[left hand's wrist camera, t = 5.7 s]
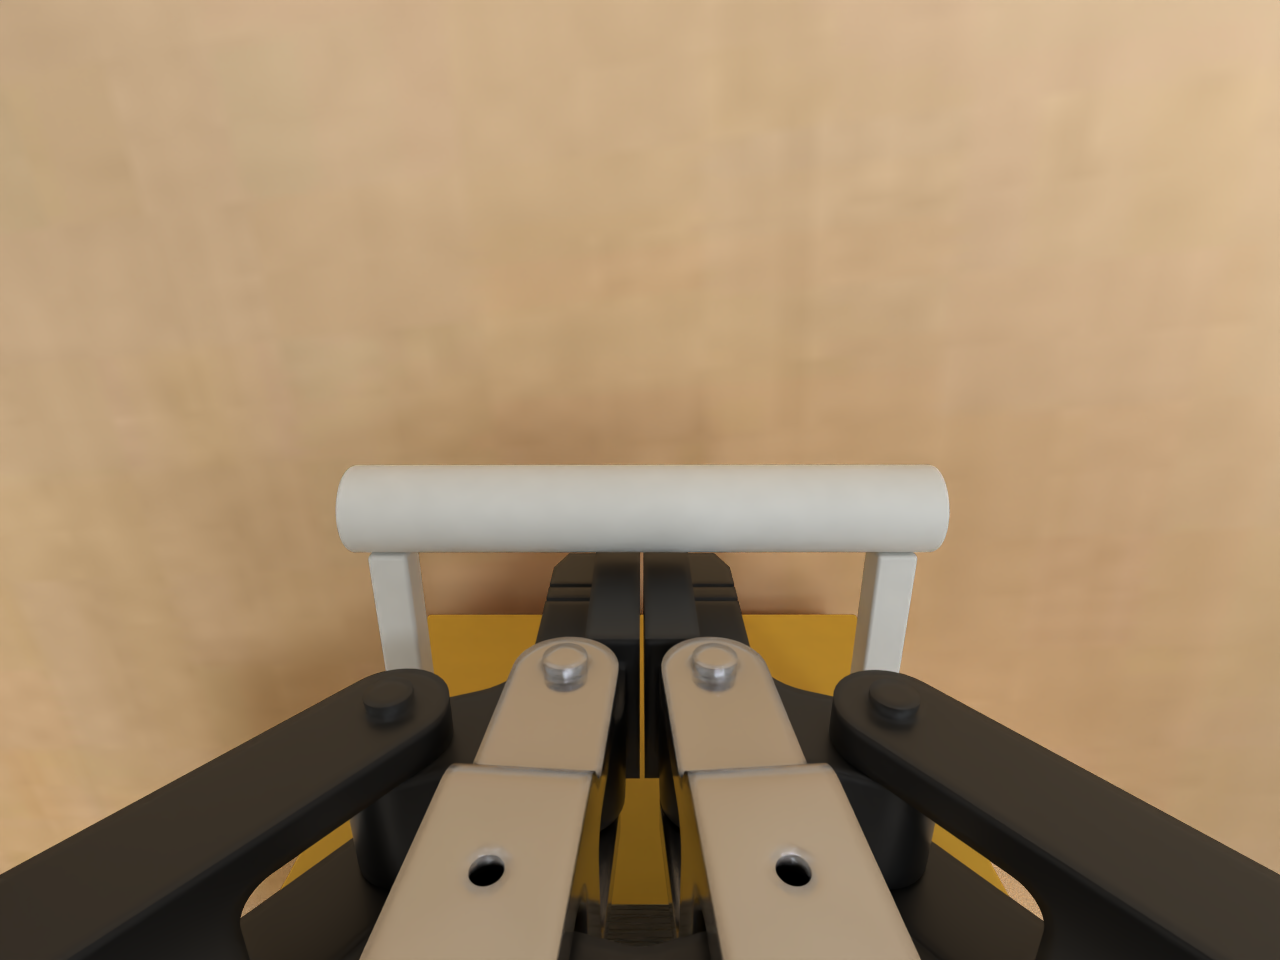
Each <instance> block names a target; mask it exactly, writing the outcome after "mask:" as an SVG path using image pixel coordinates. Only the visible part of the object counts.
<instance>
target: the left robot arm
mask: <svg viewBox="0 0 1280 960" xmlns="http://www.w3.org/2000/svg"><path fill="white" fill-rule="evenodd" d="M643 648H644V769H645V778H659V792H660V813H659V830H660V838H661V847H662V855H663V863H664V871H665V879H666V888H667V896H668V904H669V912H670V920H671V929H672V937H673V940H670V941H666V942H662V943H659V944H655V945H651V946H645V947H635V946H629V945H625V944H621V943H618V942H614V941H610V940H607V937H608V929H609V920H610V912H611V904H612V896H613V888H614V879H615V871H616V863H617V855H618V847H619V838H620V830H621V813H620V812H621V811H622V808H623V806H624V802H625V785H626V779H640V552H596V553H569V554H568V555H567V556H566V557H565V558H564V559H563V560H562V561H561V562H560V563H558V564H557V565H556V566H555V567H554V570H553V574H552V578H551V582H550V587H549V590H548V594H547V601H546V602H545V606H544V610H543V614H542V618H541V622H540V626H539V630H538V634H537V638H536V642H535V645H533V646H531V647H529V648H528V649H526V650H525V651H524V652H523V653H521V654H520V655H519V657H518V658H517V659H516V661H515V662H514V664H513V666H512V669H511V671H510V674H509V676H508V679H507V681H505V682H503V683H501V684H499V685H496V686H493V687H491V688H488V689H484V690H480V691H476V692H471V693H466V694H462V695H457V696H453V697H450V695H449V689H448V686H447V684H446V683H445V681H444V680H443V679H442V678H441V677H439V676H438V675H436V674H434V673H432V672H429V671H426V670H421V669H410V668H405V669H394V670H388V671H384V672H380V673H377V674H374V675H371V676H369V677H366V678H364V679H362V680H360V681H358V682H356V683H354V684H352V685H351V686H349V687H347V688H345V689H343V690H341V691H339V692H338V693H336V694H334V695H332V696H330V697H328V698H326V699H325V700H323V701H321V702H319V703H317V704H315V705H314V706H312V707H310V708H308V709H306V710H304V711H302V712H301V713H299V714H297V715H295V716H293V717H291V718H289V719H288V720H286V721H284V722H282V723H280V724H278V725H277V726H275V727H273V728H271V729H269V730H267V731H265V732H264V733H262V734H260V735H258V736H256V737H254V738H252V739H251V740H249V741H247V742H245V743H243V744H241V745H240V746H238V747H236V748H234V749H232V750H230V751H228V752H227V753H225V754H223V755H221V756H219V757H217V758H215V759H214V760H212V761H210V762H208V763H206V764H204V765H203V766H201V767H199V768H197V769H195V770H193V771H191V772H190V773H188V774H186V775H184V776H182V777H180V778H178V779H177V780H175V781H173V782H171V783H169V784H167V785H166V786H164V787H162V788H160V789H158V790H156V791H154V792H153V793H151V794H149V795H147V796H145V797H143V798H141V799H140V800H138V801H136V802H134V803H132V804H130V805H128V806H127V807H125V808H123V809H121V810H119V811H117V812H116V813H114V814H112V815H110V816H108V817H106V818H104V819H103V820H101V821H99V822H97V823H95V824H93V825H91V826H90V827H88V828H86V829H84V830H82V831H80V832H79V833H77V834H75V835H73V836H71V837H69V838H67V839H66V840H64V841H62V842H60V843H58V844H56V845H54V846H53V847H51V848H49V849H47V850H45V851H43V852H42V853H40V854H38V855H36V856H34V857H32V858H30V859H29V860H27V861H25V862H23V863H21V864H19V865H17V866H16V867H14V868H12V869H10V870H8V871H6V872H5V873H3V874H1V875H0V960H1280V875H1279V874H1277V873H1276V872H1274V871H1272V870H1270V869H1268V868H1266V867H1264V866H1263V865H1261V864H1259V863H1257V862H1255V861H1253V860H1251V859H1250V858H1248V857H1246V856H1244V855H1242V854H1240V853H1239V852H1237V851H1235V850H1233V849H1231V848H1229V847H1227V846H1226V845H1224V844H1222V843H1220V842H1218V841H1216V840H1214V839H1213V838H1211V837H1209V836H1207V835H1205V834H1203V833H1201V832H1200V831H1198V830H1196V829H1194V828H1192V827H1190V826H1189V825H1187V824H1185V823H1183V822H1181V821H1179V820H1177V819H1176V818H1174V817H1172V816H1170V815H1168V814H1166V813H1164V812H1163V811H1161V810H1159V809H1157V808H1155V807H1153V806H1152V805H1150V804H1148V803H1146V802H1144V801H1142V800H1140V799H1139V798H1137V797H1135V796H1133V795H1131V794H1129V793H1127V792H1126V791H1124V790H1122V789H1120V788H1118V787H1116V786H1115V785H1113V784H1111V783H1109V782H1107V781H1105V780H1103V779H1102V778H1100V777H1098V776H1096V775H1094V774H1092V773H1090V772H1089V771H1087V770H1085V769H1083V768H1081V767H1079V766H1078V765H1076V764H1074V763H1072V762H1070V761H1068V760H1066V759H1065V758H1063V757H1061V756H1059V755H1057V754H1055V753H1053V752H1052V751H1050V750H1048V749H1046V748H1044V747H1042V746H1041V745H1039V744H1037V743H1035V742H1033V741H1031V740H1029V739H1028V738H1026V737H1024V736H1022V735H1020V734H1018V733H1016V732H1015V731H1013V730H1011V729H1009V728H1007V727H1005V726H1003V725H1002V724H1000V723H998V722H996V721H994V720H992V719H991V718H989V717H987V716H985V715H983V714H981V713H979V712H978V711H976V710H974V709H972V708H970V707H968V706H966V705H965V704H963V703H961V702H959V701H957V700H955V699H954V698H952V697H950V696H948V695H946V694H944V693H942V692H941V691H939V690H937V689H935V688H933V687H931V686H929V685H928V684H926V683H924V682H922V681H920V680H918V679H916V678H913V677H910V676H907V675H904V674H901V673H897V672H892V671H886V670H864V671H858V672H855V673H852V674H849V675H847V676H845V677H844V678H843V679H841V680H840V681H839V682H838V684H837V685H836V686H835V689H834V693H833V696H829V695H824V694H820V693H815V692H811V691H806V690H802V689H798V688H795V687H792V686H789V685H787V684H784V683H782V682H780V681H778V680H776V679H775V678H773V677H772V676H771V674H770V671H769V669H768V666H767V664H766V662H765V661H764V659H763V658H762V657H761V655H760V654H759V653H757V652H756V651H755V650H754V649H752V648H751V647H750V644H749V640H748V637H747V633H746V629H745V625H744V621H743V617H742V613H741V609H740V606H739V602H738V601H737V594H736V590H735V587H734V582H733V578H732V575H731V571H730V567H729V566H728V565H726V564H725V563H724V562H723V561H722V560H721V559H720V558H719V557H718V556H717V555H715V554H714V553H688V552H643ZM348 820H350V825H351V830H352V835H353V838H352V839H350V840H349V841H347V842H346V843H345V844H343V845H342V846H341V847H339V848H338V849H336V850H335V851H334V852H332V853H331V854H329V855H328V856H327V857H325V858H324V859H322V860H321V861H320V862H318V863H317V864H315V865H314V866H313V867H311V868H310V869H309V870H307V871H306V872H304V873H303V874H302V875H300V876H299V877H297V878H296V879H295V880H293V881H292V882H290V883H289V884H288V885H286V886H285V887H283V888H282V889H281V890H279V891H278V892H277V893H275V894H274V895H272V896H271V897H270V898H268V899H267V900H265V901H264V902H263V903H261V904H260V905H258V906H257V907H256V908H254V909H253V910H252V911H250V912H249V913H247V914H246V915H245V916H243V917H241V913H242V910H243V908H244V905H245V903H246V902H247V900H248V898H249V897H250V895H251V894H252V892H253V891H254V890H255V889H256V888H257V886H258V885H259V884H260V883H261V882H262V881H263V880H265V879H266V878H267V877H268V876H269V875H271V874H272V873H274V872H275V871H276V870H278V869H279V868H281V867H282V866H284V865H285V864H286V863H288V862H289V861H291V860H292V859H294V858H295V857H297V856H298V855H299V854H301V853H302V852H304V851H305V850H307V849H308V848H309V847H311V846H312V845H314V844H315V843H317V842H318V841H320V840H321V839H322V838H324V837H325V836H327V835H328V834H330V833H331V832H332V831H334V830H335V829H337V828H338V827H340V826H341V825H343V824H344V823H345V822H347V821H348ZM935 823H936V824H937V825H939V826H940V827H942V828H943V829H945V830H946V831H948V832H949V833H950V834H952V835H953V836H955V837H956V838H958V839H959V840H960V841H962V842H963V843H965V844H966V845H968V846H969V847H971V848H972V849H973V850H975V851H976V852H978V853H979V854H981V855H982V856H984V857H985V858H986V859H988V860H989V861H991V862H992V863H994V864H995V865H996V866H998V867H999V868H1001V869H1002V870H1004V871H1005V872H1007V873H1008V874H1009V875H1011V876H1012V877H1014V878H1015V879H1016V880H1017V881H1019V882H1020V883H1021V884H1022V885H1023V886H1024V887H1025V888H1026V889H1027V890H1028V891H1029V893H1030V894H1031V895H1032V897H1033V898H1034V899H1035V901H1036V902H1037V904H1038V906H1039V908H1040V910H1041V913H1042V916H1043V919H1044V921H1043V920H1041V919H1040V918H1038V917H1037V916H1035V915H1034V914H1033V913H1031V912H1030V911H1029V910H1027V909H1026V908H1024V907H1023V906H1022V905H1020V904H1019V903H1017V902H1016V901H1015V900H1013V899H1012V898H1010V897H1009V896H1008V895H1006V894H1005V893H1003V892H1002V891H1001V890H999V889H998V888H997V887H995V886H994V885H992V884H991V883H990V882H988V881H987V880H985V879H984V878H983V877H981V876H980V875H978V874H977V873H976V872H974V871H973V870H971V869H970V868H969V867H967V866H966V865H965V864H963V863H962V862H960V861H959V860H958V859H956V858H955V857H953V856H952V855H951V854H949V853H948V852H946V851H945V850H944V849H942V848H941V847H939V846H938V845H937V844H935V843H934V842H933V841H932V837H933V832H934V827H935ZM240 917H241V918H240Z"/></svg>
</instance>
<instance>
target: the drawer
mask: <svg viewBox="0 0 1280 960" xmlns="http://www.w3.org/2000/svg"><path fill="white" fill-rule="evenodd" d="M336 523H337V529H338V533H339V536H340V539H341V541H342V543H343V545H344V546H345V547H346V548H347V549H348V550H349V551H352V552H372V553H371V554H370V556H369V558H368V561H369V567H370V574H371V580H372V586H373V593H374V599H375V605H376V612H377V618H378V624H379V631H380V637H381V643H382V650H383V656H384V662H385V669H386V671H388V670H394V669H405V668H410V669H421V670H426V671H429V672H432V673H434V674H436V675H438V676H439V677H441V678H442V679H443V680H444V681H445V683H446V684H447V686H448V689H449V695H450V697H453V696H457V695H462V694H466V693H471V692H476V691H480V690H484V689H488V688H491V687H493V686H496V685H499V684H501V683H503V682H505V681H507V679H508V676H509V674H510V671H511V669H512V666H513V664H514V662H515V661H516V659H517V658H518V657H519V655H520V654H521V653H523V652H524V651H525V650H526V649H528V648H529V647H531V646H533V645H535V642H536V638H537V634H538V630H539V626H540V622H541V618H542V615H429V616H428V617H427V615H426V607H425V600H424V592H423V584H422V576H421V568H420V561H419V553H418V552H866V555H865V563H864V571H863V579H862V586H861V594H860V602H859V610H858V617H856V616H855V615H742V617H743V621H744V625H745V629H746V633H747V637H748V640H749V644H750V647H751V648H752V649H754V650H755V651H756V652H757V653H759V654H760V655H761V657H762V658H763V659H764V661H765V662H766V664H767V666H768V669H769V671H770V674H771V676H772V677H773V678H775V679H776V680H778V681H780V682H782V683H784V684H787V685H789V686H792V687H795V688H798V689H802V690H806V691H811V692H815V693H820V694H824V695H829V696H833V693H834V689H835V686H836V685H837V684H838V682H839V681H840V680H841V679H843V678H844V677H845V676H847V675H849V674H852V673H855V672H858V671H864V670H886V671H892V672H897V673H899V670H900V664H901V658H902V651H903V645H904V639H905V632H906V626H907V620H908V613H909V607H910V601H911V595H912V588H913V582H914V576H915V569H916V563H917V556H916V555H915V554H914V552H933V551H935V550H937V549H938V548H939V547H940V546H941V545H942V543H943V541H944V539H945V536H946V533H947V529H948V523H949V497H948V491H947V487H946V483H945V481H944V478H943V476H942V474H941V473H940V471H939V470H938V469H937V468H936V467H934V466H932V465H354V466H352V467H350V468H348V469H347V470H346V472H345V473H344V475H343V476H342V479H341V481H340V484H339V487H338V492H337V498H336ZM620 813H621V830H620V838H619V847H618V855H617V863H616V871H615V879H614V888H613V896H612V904H611V912H610V920H609V929H608V937H607V940H610V941H614V942H618V943H621V944H625V945H629V946H635V947H645V946H651V945H655V944H659V943H662V942H666V941H670V940H673V937H672V929H671V920H670V912H669V904H668V896H667V888H666V879H665V871H664V863H663V855H662V847H661V838H660V830H659V813H660V792H659V778H645V769H644V648H643V615H640V779H626V785H625V802H624V806H623V808H622V811H621V812H620ZM352 838H353V835H352V830H351V825H350V820H348V821H347V822H345V823H344V824H343V825H341V826H340V827H338V828H337V829H335V830H334V831H332V832H331V833H330V834H328V835H327V836H325V837H324V838H322V839H321V840H320V841H318V842H317V843H315V844H314V845H312V846H311V847H309V848H308V849H307V850H305V851H304V852H302V853H301V854H299V856H298V858H297V860H296V862H295V863H294V865H293V867H292V869H291V871H290V873H289V875H288V876H287V878H286V880H285V882H284V884H283V886H282V887H281V889H282V888H283V887H285V886H286V885H288V884H289V883H290V882H292V881H293V880H295V879H296V878H297V877H299V876H300V875H302V874H303V873H304V872H306V871H307V870H309V869H310V868H311V867H313V866H314V865H315V864H317V863H318V862H320V861H321V860H322V859H324V858H325V857H327V856H328V855H329V854H331V853H332V852H334V851H335V850H336V849H338V848H339V847H341V846H342V845H343V844H345V843H346V842H347V841H349V840H350V839H352ZM932 841H933V842H934V843H935V844H937V845H938V846H939V847H941V848H942V849H944V850H945V851H946V852H948V853H949V854H951V855H952V856H953V857H955V858H956V859H958V860H959V861H960V862H962V863H963V864H965V865H966V866H967V867H969V868H970V869H971V870H973V871H974V872H976V873H977V874H978V875H980V876H981V877H983V878H984V879H985V880H987V881H988V882H990V883H991V884H992V885H994V886H995V887H997V888H998V889H999V890H1001V891H1002V892H1003V893H1005V894H1006V895H1008V894H1007V892H1006V890H1005V888H1004V886H1003V885H1002V883H1001V881H1000V879H999V877H998V875H997V874H996V872H995V870H994V868H993V866H992V864H991V863H990V861H989V860H988V859H986V858H985V857H984V856H982V855H981V854H979V853H978V852H976V851H975V850H973V849H972V848H971V847H969V846H968V845H966V844H965V843H963V842H962V841H960V840H959V839H958V838H956V837H955V836H953V835H952V834H950V833H949V832H948V831H946V830H945V829H943V828H942V827H940V826H939V825H937V824H936V823H935V827H934V832H933V837H932ZM281 889H280V890H281Z"/></svg>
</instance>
